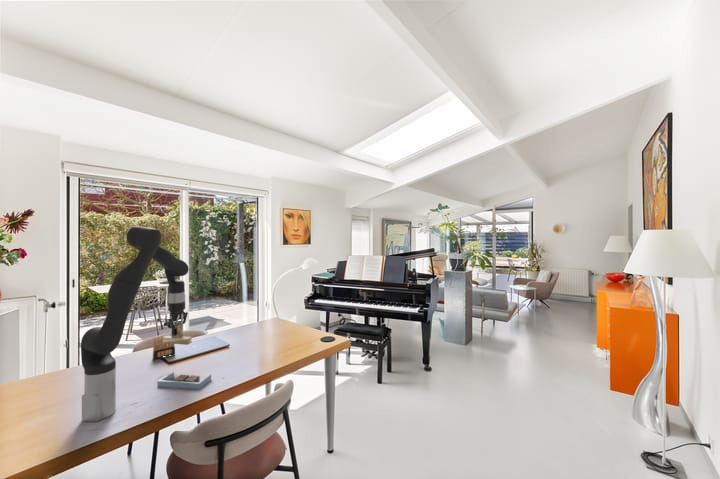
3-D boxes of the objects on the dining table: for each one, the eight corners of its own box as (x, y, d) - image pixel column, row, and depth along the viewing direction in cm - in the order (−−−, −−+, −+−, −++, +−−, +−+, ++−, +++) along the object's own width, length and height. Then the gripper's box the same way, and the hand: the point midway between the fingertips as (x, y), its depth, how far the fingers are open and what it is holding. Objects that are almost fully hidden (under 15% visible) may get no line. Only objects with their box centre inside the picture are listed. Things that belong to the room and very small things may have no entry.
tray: (198, 389, 140) (199, 383, 140) (157, 386, 142) (157, 380, 142) (211, 379, 149) (211, 374, 149) (172, 376, 151) (172, 371, 151)
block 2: (192, 386, 143) (192, 380, 143) (184, 385, 144) (184, 380, 144) (199, 381, 148) (199, 375, 148) (191, 380, 149) (191, 375, 149)
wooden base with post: (187, 344, 159) (187, 325, 158) (162, 343, 161) (162, 323, 160) (191, 342, 162) (191, 323, 161) (167, 341, 164) (166, 322, 163)
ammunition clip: (153, 360, 170) (153, 338, 170) (152, 359, 171) (152, 337, 171) (175, 355, 178) (175, 334, 178) (174, 354, 179) (174, 333, 179)
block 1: (181, 385, 144) (181, 380, 144) (173, 384, 144) (173, 379, 144) (189, 380, 149) (189, 375, 149) (181, 379, 149) (181, 374, 149)
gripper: (173, 304, 153) (173, 339, 154) (192, 298, 167) (192, 330, 168) (159, 303, 154) (160, 338, 155) (179, 297, 168) (179, 329, 168)
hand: (177, 334), depth 161 cm, fingers closed on wooden base with post, 3 cm apart
